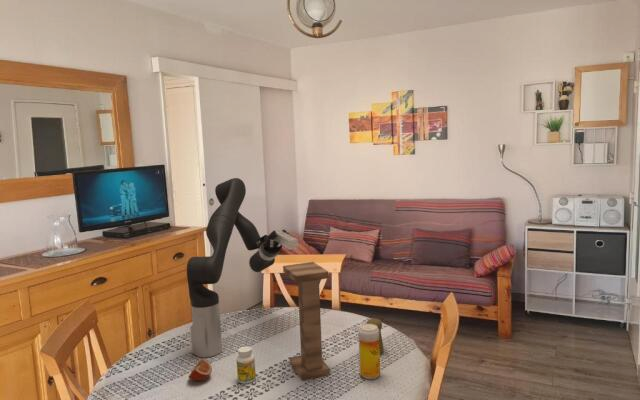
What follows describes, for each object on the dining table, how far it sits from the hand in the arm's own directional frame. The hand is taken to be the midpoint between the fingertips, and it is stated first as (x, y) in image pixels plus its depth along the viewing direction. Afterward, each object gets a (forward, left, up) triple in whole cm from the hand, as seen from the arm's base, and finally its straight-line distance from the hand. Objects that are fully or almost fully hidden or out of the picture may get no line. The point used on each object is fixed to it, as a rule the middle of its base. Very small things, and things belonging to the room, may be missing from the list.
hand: (279, 232), depth 166 cm
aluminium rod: (+3, -4, -3) cm, 6 cm away
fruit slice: (-13, -34, -39) cm, 53 cm away
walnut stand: (+17, -20, -39) cm, 47 cm away
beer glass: (+36, -19, -39) cm, 56 cm away
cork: (+34, -3, -39) cm, 52 cm away
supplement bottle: (+1, -31, -39) cm, 50 cm away
